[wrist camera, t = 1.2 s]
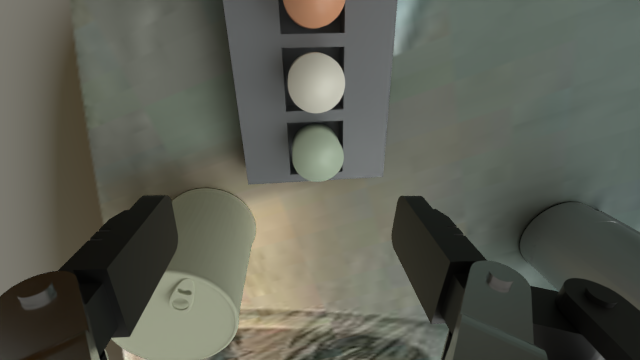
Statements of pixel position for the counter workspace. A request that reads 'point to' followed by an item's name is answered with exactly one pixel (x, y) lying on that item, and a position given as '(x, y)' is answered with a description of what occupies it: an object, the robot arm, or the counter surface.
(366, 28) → the button panel
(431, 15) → the counter surface
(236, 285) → the can
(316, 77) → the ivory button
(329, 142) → the sage button
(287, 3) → the terracotta button
